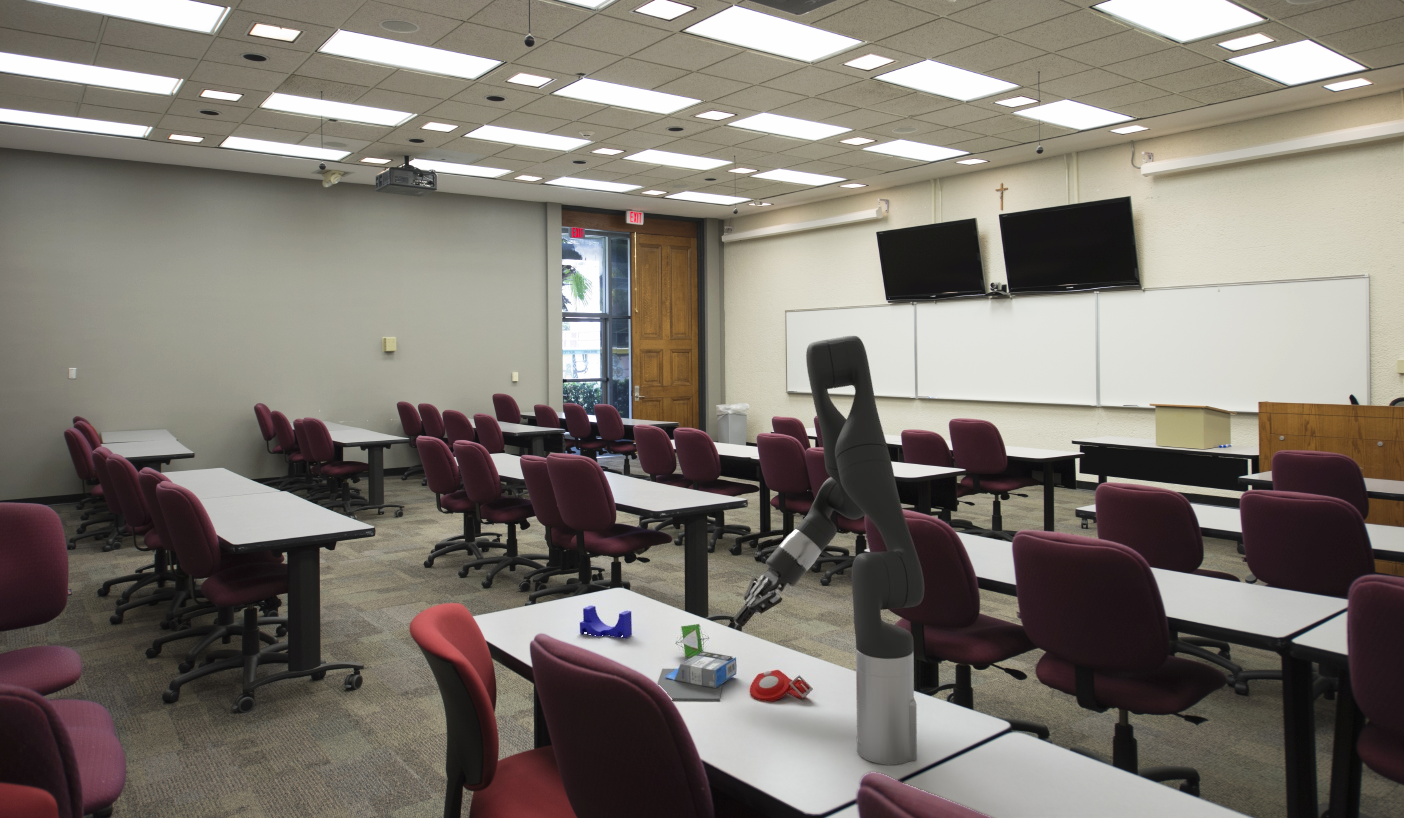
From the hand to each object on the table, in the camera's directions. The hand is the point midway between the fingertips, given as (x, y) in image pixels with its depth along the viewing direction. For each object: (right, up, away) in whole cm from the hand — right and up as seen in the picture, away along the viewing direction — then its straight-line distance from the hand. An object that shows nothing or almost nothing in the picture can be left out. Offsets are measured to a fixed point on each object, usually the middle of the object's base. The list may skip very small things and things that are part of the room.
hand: (737, 623), depth 171 cm
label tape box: (-2, -11, +2) cm, 11 cm away
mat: (-10, -13, +2) cm, 16 cm away
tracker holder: (+8, -13, -4) cm, 16 cm away
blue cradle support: (-30, -12, +36) cm, 48 cm away
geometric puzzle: (-9, -12, +20) cm, 25 cm away
